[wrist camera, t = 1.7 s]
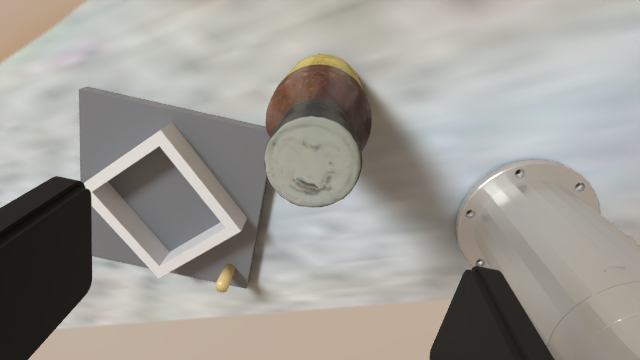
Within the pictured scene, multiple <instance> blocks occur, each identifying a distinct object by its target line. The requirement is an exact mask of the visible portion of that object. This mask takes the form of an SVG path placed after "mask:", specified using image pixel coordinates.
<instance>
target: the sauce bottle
mask: <svg viewBox="0 0 640 360" xmlns="http://www.w3.org/2000/svg"><path fill="white" fill-rule="evenodd" d="M266 130H267V133H268V135H269V136H270V139H269V141H268V143H267V145H266V149H265V154H264V164H265V171H266V174H267V178H268V180H269V182H270V184H271V185H272V187H273V189H275V190H276V191H277V193H278V194H279V195H280V196H281V197H283V198H285V199H286V200H288V201H289V202H291V203H293V204H295V205H298V206H306V207H323V206H328V205H331V204H334V203H335V202H337V201H339V200H341V199H343V198H344V197H345V196H347V195H348V194H349V193H350V192H351V190H352V189H353V187H354V186H355V185H356V182H357V180H358V178H359V175H360V172H361V168H362V153H361V151H362V150H363V148H364V147H365V145H366V143H367V140H368V138H369V135H370V130H371V110H370V106H369V102H368V99H367V97H366V94H365V92H364V90H363V88H362V86H361V83H360V81H359V79H358V77H357V75H356V73H355V72H354V70H353V69H352V68H351V67H350V65H349V64H347V63H346V62H345V61H344V60H342V59H341V58H339V57H336V56H332V55H325V54H319V55H314V56H310V57H308V58H306V59H304V60H302V61H301V62H299V63H298V64H297V65H296V66H295V67H294V68H293V69H292V70H291V71H290V72H289V73H288V75H287V76H286V77H285V78H284V79H283V80H282V81H281V83H280V84H279V85H278V87H277V88H276V90H275V92H274V94H273V96H272V98H271V101H270V103H269V105H268V109H267V113H266Z"/></svg>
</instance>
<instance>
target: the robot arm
mask: <svg viewBox="0 0 640 360" xmlns="http://www.w3.org/2000/svg"><path fill="white" fill-rule="evenodd" d="M517 170H518V172H516V171H517ZM469 210H470V211H469ZM467 211H469V212H467ZM456 236H457V241H458V244H459V246H460V248H461V251H462V253H463V254H464V256H465V258H466V259H467V261H468V262H469V263H470V264H471V265H472V266H473V268H472V270H466V271H465V272H464V274H463V276H462V278H461V281H460V283H459V285H458V287H457V290H456V292H455V294H454V297H453V299H452V301H451V304H450V306H449V308H448V311H447V313H446V315H445V318H444V320H443V323H442V325H441V327H440V329H439V332H438V334H437V336H436V339H435V341H434V343H433V346H432V348H431V351H430V360H640V246H639V245H638V244H637V243H636V240H635V238H634V237H632V236H629V235H626V234H624V233H623V232H622V231H621V230H619V229H618V228H617V227H616V226H614V225H613V224H612V223H610V222H609V221H608V220H607V219H605V218H604V217H603V216H602V215H600V207H599V201H598V198H597V195H596V193H595V191H594V189H593V188H592V186H591V185H590V183H589V182H588V181H587V180H586V179H585V178H584V177H583V176H582V175H580V174H579V173H577V172H576V171H574V170H573V169H572V168H570V167H567V166H565V165H563V164H561V163H558V162H554V161H549V160H538V159H531V160H523V161H517V162H514V163H511V164H507V165H504V166H502V167H500V168H498V169H496V170H494V171H492V172H491V173H489V174H488V175H486V176H485V177H483V178H482V179H481V180H480V181H479V182H478V183H477V184H476V185H475V186H474V187H473V188H472V189H471V190H470V191H469V193H468V194H467V195H466V197H465V198H464V200H463V202H462V204H461V206H460V208H459V211H458V215H457V219H456ZM91 282H92V211H91V192H90V190H89V189H86V188H85V185H84V183H83V182H81V181H77V180H72V179H67V178H63V177H57V176H56V177H53V178H51V179H49V180H48V181H46V182H44V183H42V184H41V185H39V186H37V187H36V188H34V189H32V190H30V191H29V192H27V193H25V194H24V195H22V196H20V197H18V198H17V199H15V200H13V201H12V202H10V203H8V204H7V205H5V206H3V207H1V208H0V360H28V359H29V358H30V356H31V355H32V354H33V353H34V352H35V351H36V350H37V349H38V348H39V347H40V345H41V344H42V343H43V342H44V341H45V340H46V339H47V338H48V336H49V335H50V334H51V333H52V332H53V331H54V330H55V329H56V328H57V326H58V325H59V324H60V323H61V322H62V321H63V320H64V319H65V317H66V316H67V315H68V314H69V313H70V312H71V311H72V310H73V308H74V307H75V306H76V305H77V304H78V303H79V302H80V301H81V300H82V298H83V297H84V296H85V295H86V294H87V292H88V290H89V289H90V286H91Z"/></svg>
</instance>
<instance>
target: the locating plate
mask: <svg viewBox="0 0 640 360" xmlns="http://www.w3.org/2000/svg"><path fill="white" fill-rule="evenodd" d="M79 114H80V170H81V182H83V183H84V185H85V188H86V189H89V190H90V192H91V211H92V256H94V257H99V258H104V259H109V260H113V261H118V262H123V263H128V264H132V265H137V266H142V267H147V268H149V269H150V270H151V271H152V272H153V273H154V274H155V275H156V276H157V277H158V278H160V277H162V276H164V275H165V274H167V273H169V272H171V273H175V274H180V275H185V276H190V277H194V278H199V279H204V280H209V281H213V282H217V283H216V285H215V288H216V290H217V291H219V292H226V291H227V289H228V287H229V285H232V286H237V287H242V288H247V285H248V282H249V277H250V272H251V266H252V261H253V255H254V249H255V244H256V238H257V233H258V227H259V221H260V216H261V210H262V205H263V199H264V194H265V188H266V182H267V174H266V171H265V164H264V154H265V149H266V145H267V143H268V141H269V139H270V136H269V135H268V133H267V130H266V127H264V126H260V125H255V124H251V123H246V122H242V121H237V120H233V119H229V118H224V117H220V116H215V115H211V114H206V113H202V112H197V111H193V110H188V109H184V108H179V107H175V106H171V105H166V104H162V103H157V102H153V101H148V100H144V99H139V98H135V97H130V96H126V95H121V94H117V93H113V92H108V91H104V90H99V89H95V88H90V87H85V88H82V89H79Z"/></svg>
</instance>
